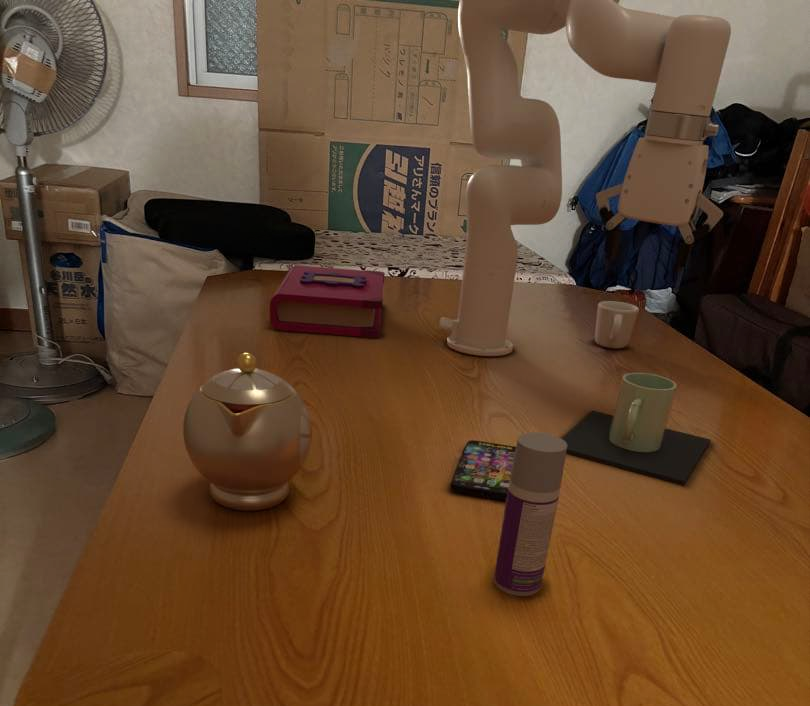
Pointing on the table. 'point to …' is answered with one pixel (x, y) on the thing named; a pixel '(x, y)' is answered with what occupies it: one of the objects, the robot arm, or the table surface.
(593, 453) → the mat
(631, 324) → the cup
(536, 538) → the container
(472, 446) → the smartphone
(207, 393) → the teapot
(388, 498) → the table surface
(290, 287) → the book
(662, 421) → the mug
